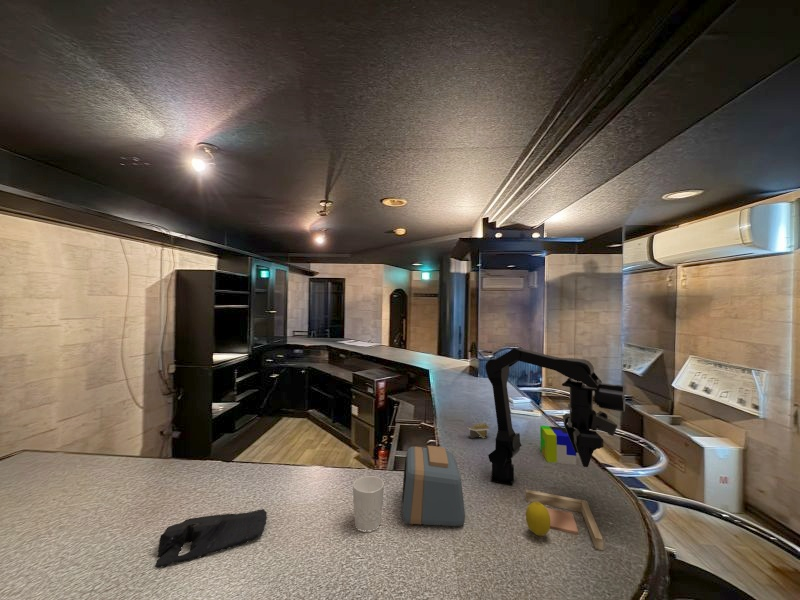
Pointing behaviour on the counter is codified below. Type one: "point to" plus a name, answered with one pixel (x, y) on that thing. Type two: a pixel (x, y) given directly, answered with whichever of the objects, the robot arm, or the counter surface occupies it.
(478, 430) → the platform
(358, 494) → the white cup
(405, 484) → the grey taped box
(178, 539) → the black flat piece
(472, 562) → the counter surface
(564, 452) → the puzzle toy
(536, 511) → the lemon
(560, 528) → the wooden corner frame
